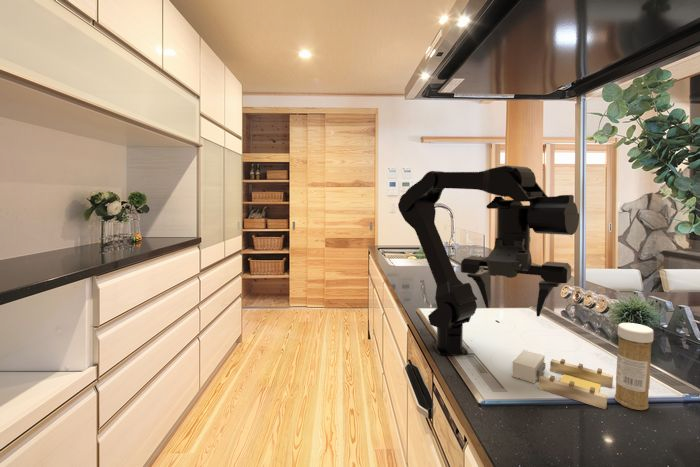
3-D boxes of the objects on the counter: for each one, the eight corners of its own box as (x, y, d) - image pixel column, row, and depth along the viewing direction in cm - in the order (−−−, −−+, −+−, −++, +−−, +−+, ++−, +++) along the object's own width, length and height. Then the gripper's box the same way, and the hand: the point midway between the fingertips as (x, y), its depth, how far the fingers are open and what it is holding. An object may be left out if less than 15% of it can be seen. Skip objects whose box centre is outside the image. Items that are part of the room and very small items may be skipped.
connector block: (512, 376, 68) (512, 361, 68) (523, 363, 73) (523, 349, 73) (537, 384, 65) (537, 368, 65) (546, 370, 70) (547, 356, 70)
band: (555, 389, 63) (555, 388, 63) (563, 374, 68) (563, 374, 68) (595, 402, 59) (595, 401, 59) (601, 385, 64) (601, 384, 64)
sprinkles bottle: (652, 405, 58) (658, 327, 57) (642, 414, 56) (648, 333, 54) (619, 392, 62) (624, 319, 61) (609, 401, 59) (613, 325, 58)
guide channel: (538, 388, 64) (539, 374, 64) (551, 368, 71) (552, 356, 71) (605, 409, 57) (606, 394, 57) (612, 385, 64) (613, 372, 64)
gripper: (449, 234, 66) (449, 313, 68) (562, 238, 54) (559, 334, 56) (470, 229, 75) (470, 300, 76) (572, 232, 63) (570, 316, 64)
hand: (512, 311), depth 68 cm, fingers open, 9 cm apart
